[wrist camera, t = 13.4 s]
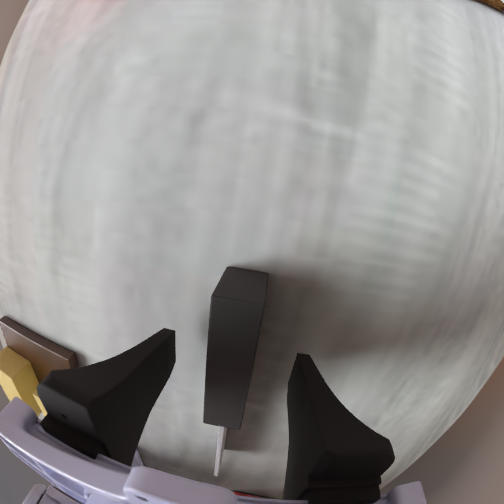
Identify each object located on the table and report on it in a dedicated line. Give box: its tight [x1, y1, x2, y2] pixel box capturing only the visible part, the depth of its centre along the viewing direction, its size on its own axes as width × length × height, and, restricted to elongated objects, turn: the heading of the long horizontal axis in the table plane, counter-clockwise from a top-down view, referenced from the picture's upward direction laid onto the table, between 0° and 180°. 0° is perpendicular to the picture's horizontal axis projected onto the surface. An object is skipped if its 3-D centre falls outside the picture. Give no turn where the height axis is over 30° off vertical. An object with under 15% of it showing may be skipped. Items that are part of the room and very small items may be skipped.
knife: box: [203, 267, 268, 476], centre depth 14 cm, size 16×2×3 cm, turn 172°
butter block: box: [0, 346, 42, 416], centre depth 16 cm, size 6×4×3 cm, turn 172°
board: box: [0, 316, 79, 383], centre depth 18 cm, size 12×10×1 cm
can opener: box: [478, 0, 504, 12], centre depth 5 cm, size 9×2×1 cm, turn 93°
